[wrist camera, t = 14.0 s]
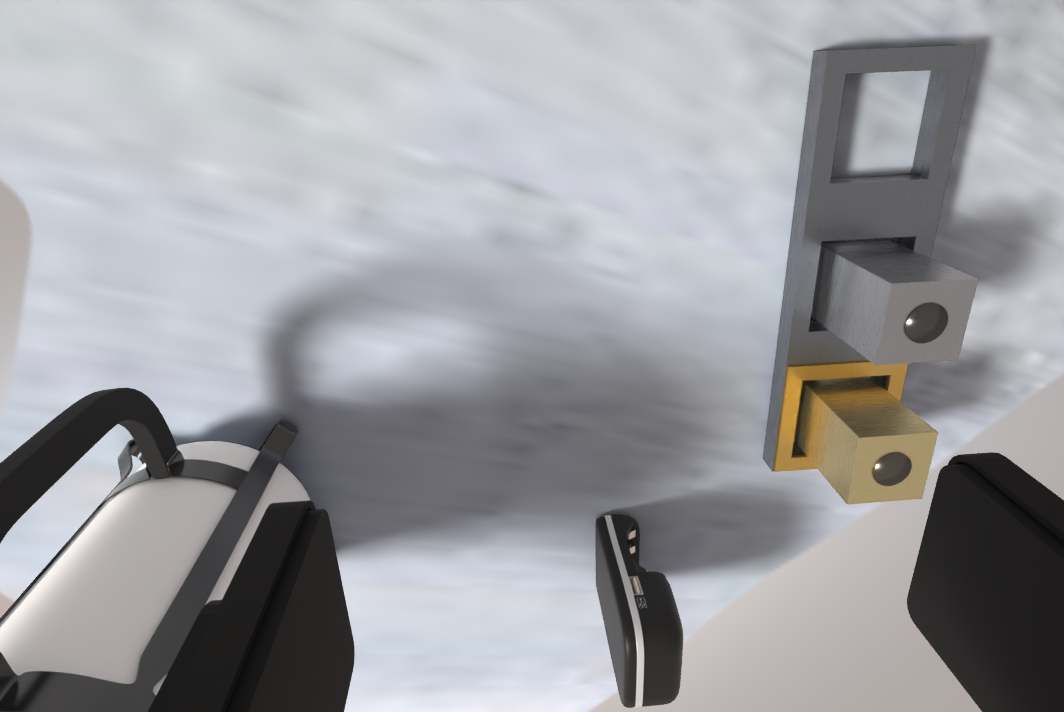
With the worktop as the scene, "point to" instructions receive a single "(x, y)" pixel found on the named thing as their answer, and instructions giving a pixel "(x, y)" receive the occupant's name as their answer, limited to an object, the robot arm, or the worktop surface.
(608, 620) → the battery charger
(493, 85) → the worktop surface
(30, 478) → the coffee press
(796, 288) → the grey block holder rack
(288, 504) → the robot arm
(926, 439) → the wooden block with knob
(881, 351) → the grey block with knob
